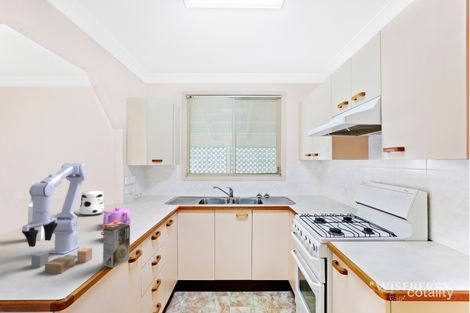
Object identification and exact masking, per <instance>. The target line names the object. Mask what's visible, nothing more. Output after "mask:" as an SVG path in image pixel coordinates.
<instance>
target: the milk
mask: <svg viewBox="0 0 470 313" xmlns="http://www.w3.org/2000/svg"><path fill="white" fill-rule="evenodd" d="M27 209H28V211H27V212H28V213H27V224H29V223H31V221H32V214H33V201H32V200H31V199H30V200H29V205H28V208H27ZM34 229H35V230H39V231H38V234H37V237H36V242H37V241H42V240H43V238H44V236H45V232H44V228H43V226H40V227H37V228H34ZM26 242H27V243H28V241H27V240H26Z"/></svg>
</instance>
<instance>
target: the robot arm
mask: <svg viewBox="0 0 470 313" xmlns="http://www.w3.org/2000/svg"><path fill="white" fill-rule="evenodd" d="M87 173H88V167H87V165H86V163H83V162H82V163H77V162H74V163H73V162H64V163H63V164H62V165H61V169H59V170H58V172H57V173H52V174H51V173H50V174H48V176H47V177H45V178H44V179H43V180H41V181H40V182H35V183H33V184H32V185H31V186H30V188H29V191H28V192H29V195H30V197H31V198H30V200H32V201H33V214H32V221H31V223H29V224H28V223H27V224H25V225H22V226H21V228H22V229H21V233H22V234H23V235H24V237H25V239H26V242H27V241H28V242H27V245H28V247H31V248H33V247H36V243H37V241H36V237H37V234H38V231H39V230H35V229H34V228H37V227H40V226H43V228H44V240H45V241H51V240H52V237H53V235H54V249H53V250H51V251H49V254H59V255H65V254H66V255H67V254H68V253H69V252H72V251H74V250H76V249H78V248H79V247H80V246H78V240H79V238H78V237H79V236H78V233H77V231H76V230H77V229H78V221H79V217H78V216H77V215H76V214H75V209H76V206H77V201H78V199H79V194H80V191H81V187H82V184H83V182H84V181H85V179H86V176H87ZM63 179H66V180H67V181H69V182H70V183H69V184H68V189H67V192H66V196H65V200H64V202H63V205H62V209H61V212H59V213H57V214H56V215H55V216H54V217H53V216H52V217H51V216H50V213H51V212H50V209H51V208H50V207H51V204H50V203H51V196H52V195H54V194H53V193H54V191H55V190H56V188H57V187H58V186H60V185H61V184H62V181H63Z"/></svg>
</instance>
